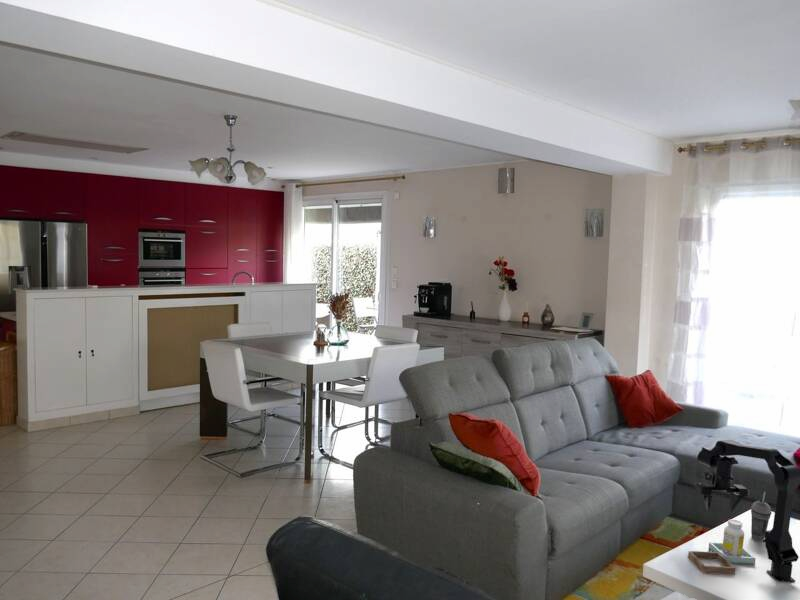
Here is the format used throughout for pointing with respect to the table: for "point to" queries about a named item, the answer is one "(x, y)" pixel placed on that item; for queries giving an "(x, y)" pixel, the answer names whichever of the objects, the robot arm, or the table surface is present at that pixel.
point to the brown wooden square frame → (728, 568)
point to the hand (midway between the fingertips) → (719, 510)
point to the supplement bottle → (733, 539)
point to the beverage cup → (760, 519)
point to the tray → (745, 558)
